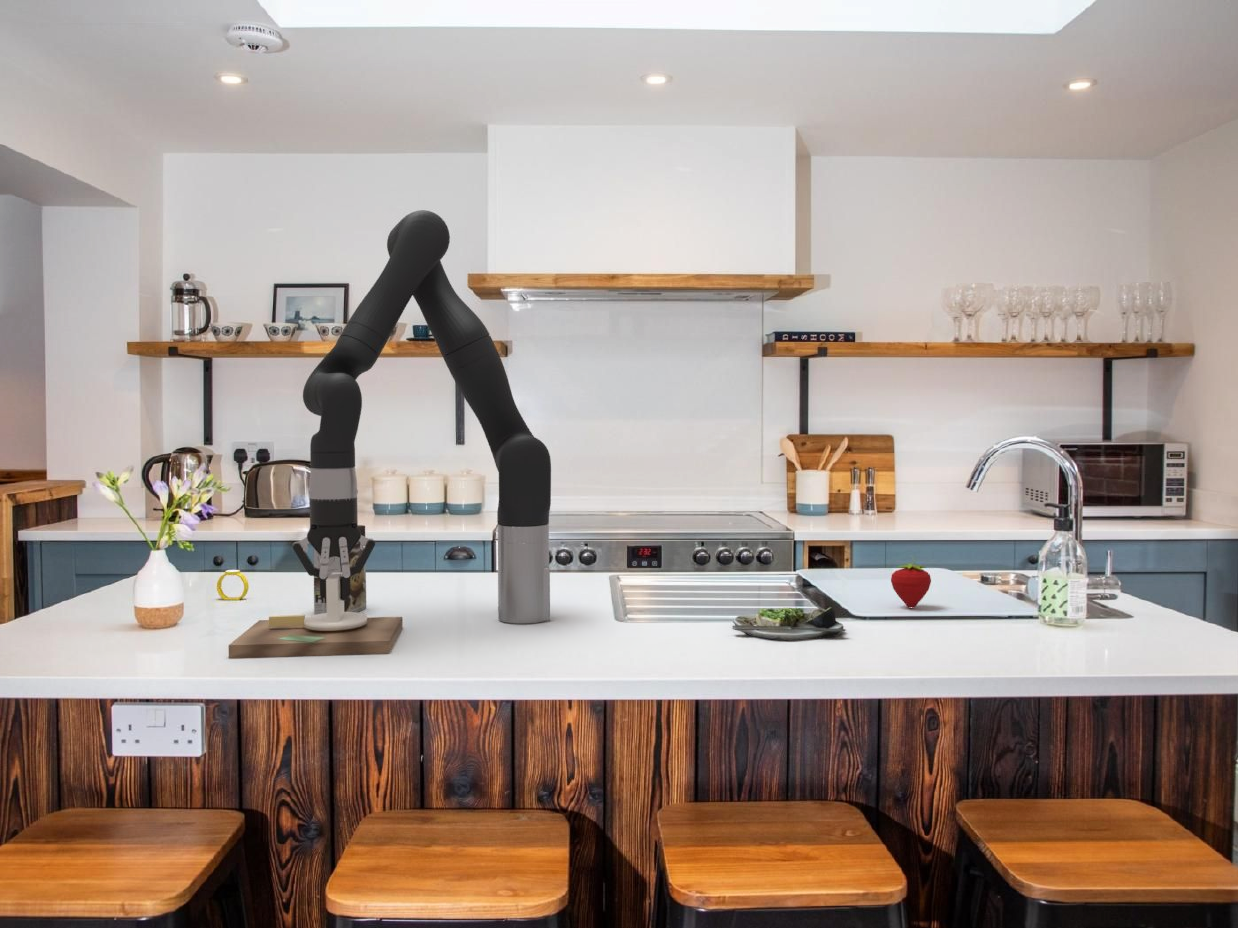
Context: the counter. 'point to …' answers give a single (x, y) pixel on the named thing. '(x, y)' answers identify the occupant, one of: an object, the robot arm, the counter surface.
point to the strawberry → (911, 583)
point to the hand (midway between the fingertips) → (335, 599)
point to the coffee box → (357, 581)
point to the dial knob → (325, 621)
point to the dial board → (317, 640)
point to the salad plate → (790, 624)
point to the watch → (237, 572)
